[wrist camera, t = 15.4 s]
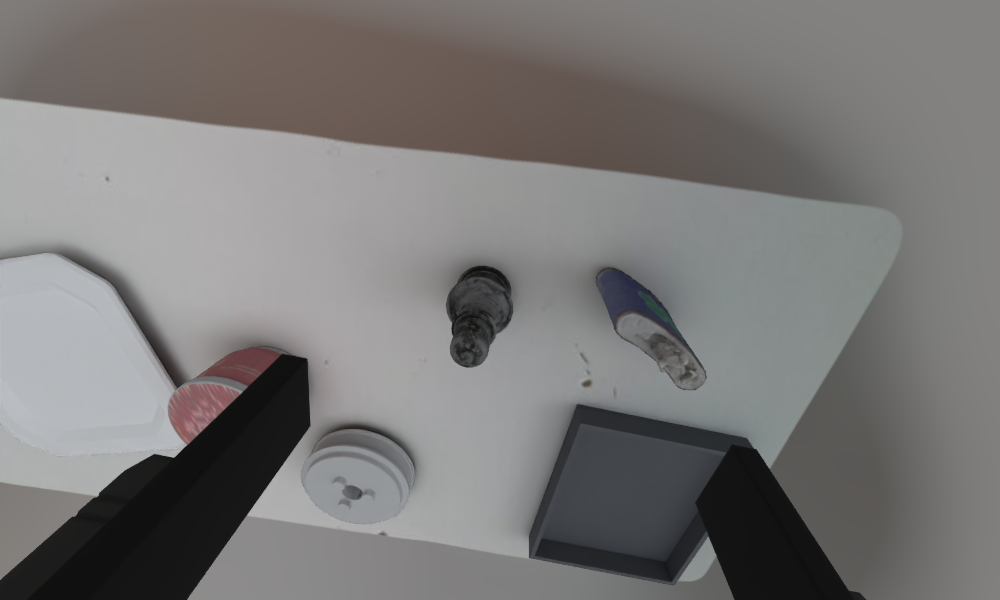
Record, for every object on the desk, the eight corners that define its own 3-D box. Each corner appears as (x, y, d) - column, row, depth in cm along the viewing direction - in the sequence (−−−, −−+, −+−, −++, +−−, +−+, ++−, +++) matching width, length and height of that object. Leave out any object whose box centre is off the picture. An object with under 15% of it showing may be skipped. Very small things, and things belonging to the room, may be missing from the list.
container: (251, 415, 46) (200, 471, 39) (210, 340, 42) (143, 387, 34) (334, 408, 45) (296, 465, 37) (300, 329, 40) (250, 376, 33)
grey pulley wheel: (436, 479, 49) (427, 516, 44) (358, 507, 52) (342, 545, 47) (375, 408, 44) (358, 441, 40) (294, 444, 48) (270, 478, 43)
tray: (577, 404, 42) (580, 423, 40) (747, 438, 43) (761, 459, 40) (528, 536, 52) (529, 558, 50) (667, 562, 53) (674, 585, 50)
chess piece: (523, 276, 36) (522, 344, 25) (501, 326, 39) (491, 409, 28) (464, 253, 36) (436, 314, 25) (445, 306, 38) (412, 382, 27)
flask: (589, 280, 36) (612, 340, 26) (613, 257, 35) (646, 312, 25) (655, 338, 38) (699, 414, 28) (680, 318, 37) (734, 390, 27)
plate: (-99, 271, 40) (-132, 279, 38) (105, 241, 37) (82, 248, 35) (51, 447, 51) (32, 460, 49) (221, 434, 48) (208, 448, 46)
